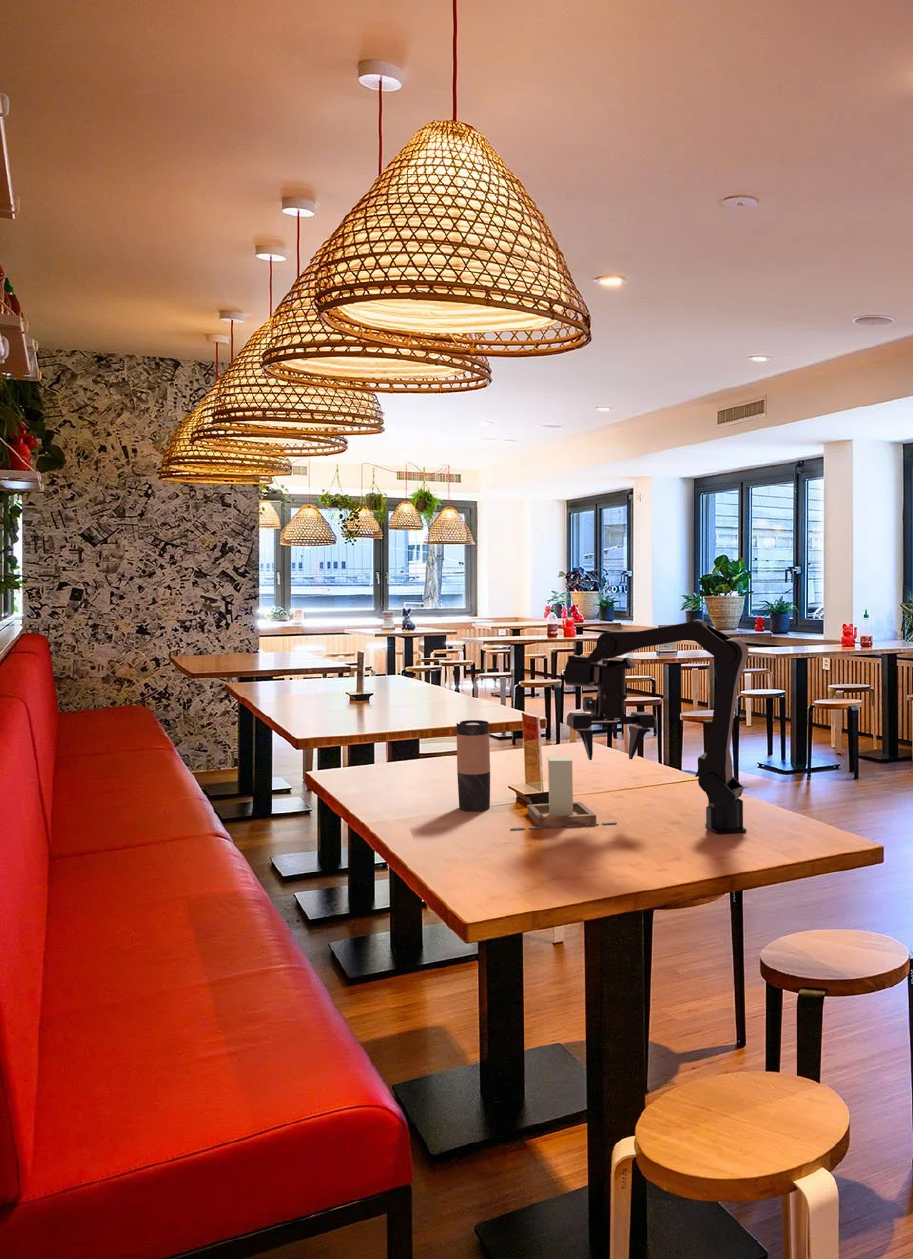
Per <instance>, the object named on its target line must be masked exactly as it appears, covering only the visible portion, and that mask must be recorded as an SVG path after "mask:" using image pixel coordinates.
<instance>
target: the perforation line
mask: <svg viewBox="0 0 913 1259" xmlns="http://www.w3.org/2000/svg"><path fill="white" fill-rule="evenodd" d="M599 824H600V823H598V822H596V823H588V824H584V825H583V826H584V827H587V826H588V827H590V826H599ZM601 824H602V825H603V826H604V825H605V826H606V825H607V826H610V825H617V824H618V822H616V821H607V822H601ZM562 827H563V826H562V825H555V826H548V827H547V828H548V829H557V828H562ZM565 827H566V828H571V827H572V828H573V827H576V828H577V827H581V825H580V824H571V825H566V826H565ZM528 829H529V830H537V829H538V830H539V829H544V827H543V826H538V825H536V826H529V827H528ZM520 830H521V831H523V830H526V827H524V826H522V827H510V831H520Z"/></svg>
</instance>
